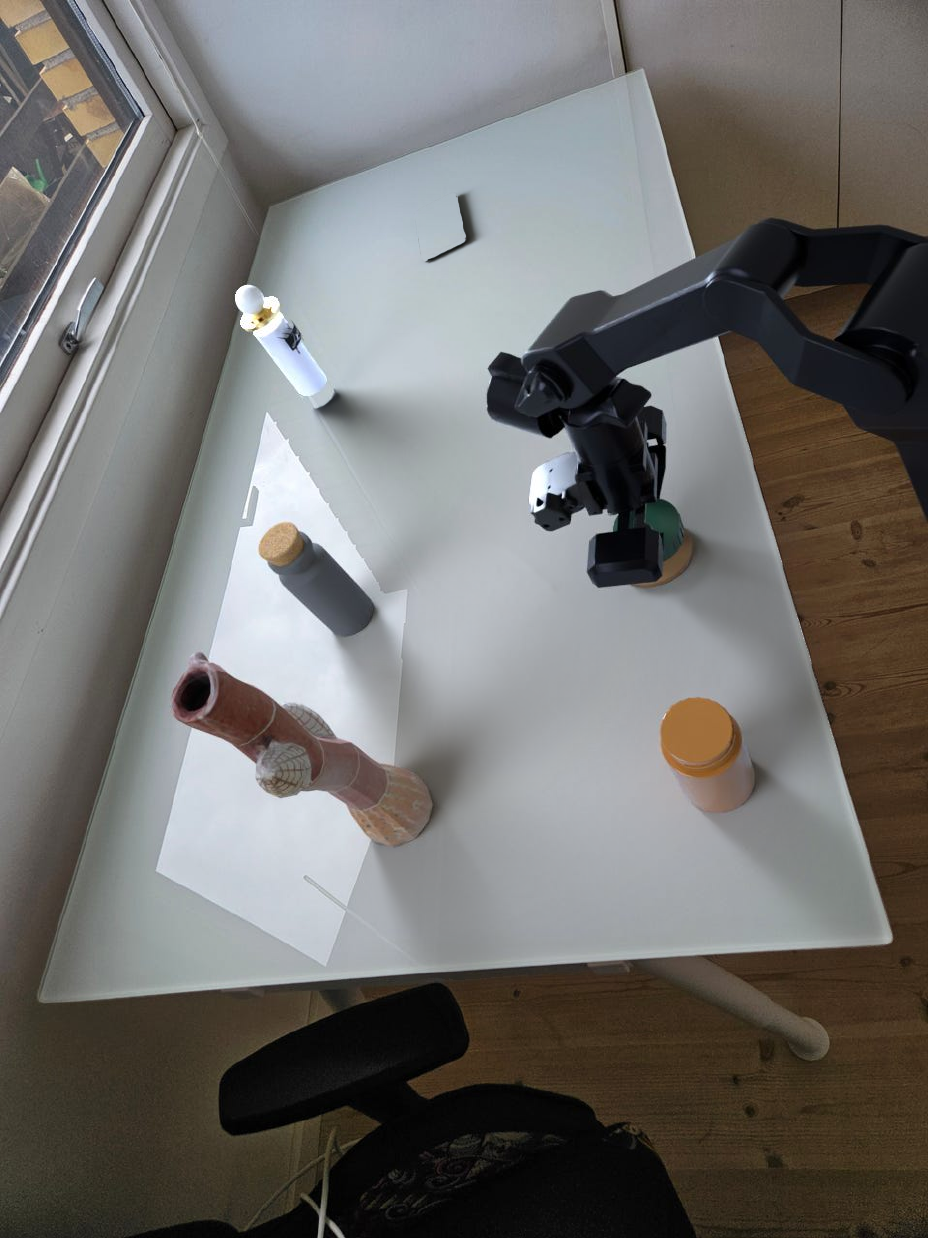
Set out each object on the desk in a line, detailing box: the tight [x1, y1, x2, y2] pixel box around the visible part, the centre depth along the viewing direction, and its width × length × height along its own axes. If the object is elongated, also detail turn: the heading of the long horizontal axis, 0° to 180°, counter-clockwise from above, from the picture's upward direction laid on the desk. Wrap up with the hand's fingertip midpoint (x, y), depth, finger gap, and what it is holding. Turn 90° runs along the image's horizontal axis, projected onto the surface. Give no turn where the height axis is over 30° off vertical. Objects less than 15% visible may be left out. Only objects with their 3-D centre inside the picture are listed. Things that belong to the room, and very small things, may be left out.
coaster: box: [631, 527, 694, 588], centre depth 81 cm, size 8×8×1 cm
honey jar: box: [659, 696, 756, 814], centre depth 64 cm, size 6×6×10 cm
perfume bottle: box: [235, 284, 328, 396], centre depth 111 cm, size 6×6×20 cm
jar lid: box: [611, 497, 686, 562], centre depth 78 cm, size 7×7×2 cm
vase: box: [169, 651, 434, 848], centre depth 66 cm, size 10×7×30 cm
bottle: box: [257, 521, 374, 637], centre depth 88 cm, size 6×6×15 cm
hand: (648, 546), depth 80 cm, fingers closed on jar lid, 6 cm apart
